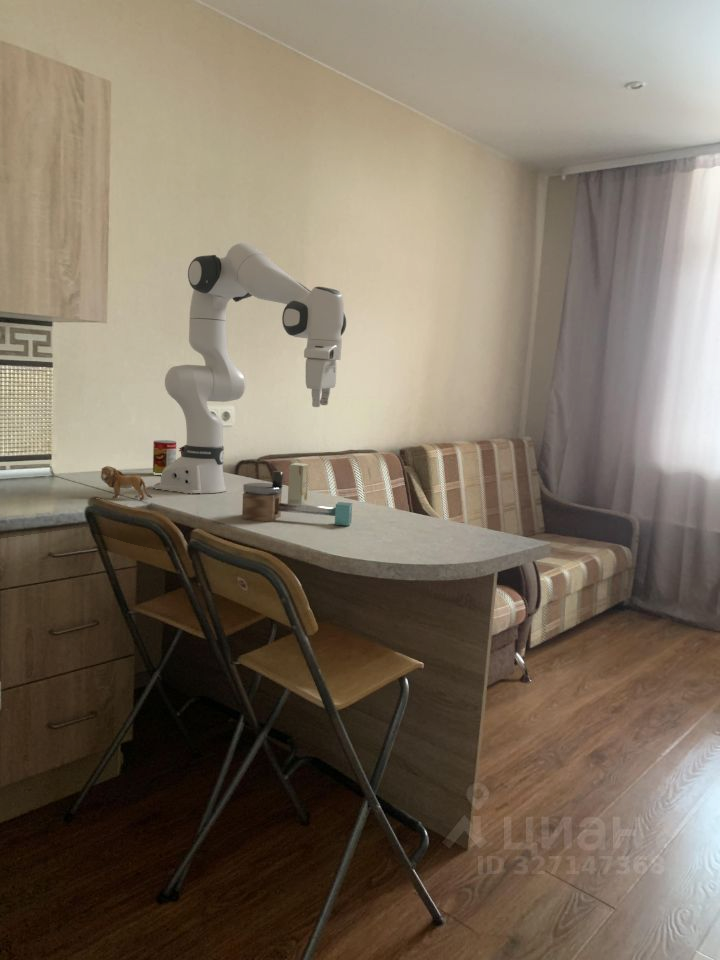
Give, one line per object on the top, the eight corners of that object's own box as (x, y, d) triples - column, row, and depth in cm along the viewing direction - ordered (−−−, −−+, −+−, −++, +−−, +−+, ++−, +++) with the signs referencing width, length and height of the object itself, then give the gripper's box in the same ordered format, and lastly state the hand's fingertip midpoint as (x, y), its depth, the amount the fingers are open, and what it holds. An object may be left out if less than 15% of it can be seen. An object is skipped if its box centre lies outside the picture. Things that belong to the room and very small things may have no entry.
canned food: (161, 472, 264) (161, 439, 262) (180, 474, 262) (180, 441, 260) (148, 474, 257) (148, 441, 255) (167, 476, 254) (168, 442, 253)
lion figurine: (97, 498, 206) (98, 466, 205) (103, 495, 211) (103, 464, 210) (150, 500, 207) (150, 469, 205) (154, 497, 212) (155, 467, 211)
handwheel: (275, 496, 184) (276, 474, 183) (237, 492, 186) (238, 471, 185) (287, 490, 194) (288, 470, 193) (251, 487, 196) (252, 467, 195)
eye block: (242, 519, 188) (243, 493, 187) (251, 513, 195) (252, 489, 195) (272, 521, 186) (273, 495, 185) (280, 516, 194) (281, 491, 193)
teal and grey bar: (277, 519, 188) (277, 499, 187) (281, 516, 192) (282, 497, 191) (348, 525, 185) (349, 505, 184) (351, 522, 189) (352, 503, 188)
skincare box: (301, 507, 208) (303, 465, 207) (286, 506, 209) (288, 464, 207) (307, 504, 214) (309, 463, 213) (293, 503, 215) (295, 462, 214)
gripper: (320, 352, 197) (317, 403, 199) (302, 350, 177) (298, 406, 179) (343, 353, 196) (339, 405, 198) (327, 352, 176) (323, 409, 178)
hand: (320, 406), depth 188 cm, fingers open, 8 cm apart
